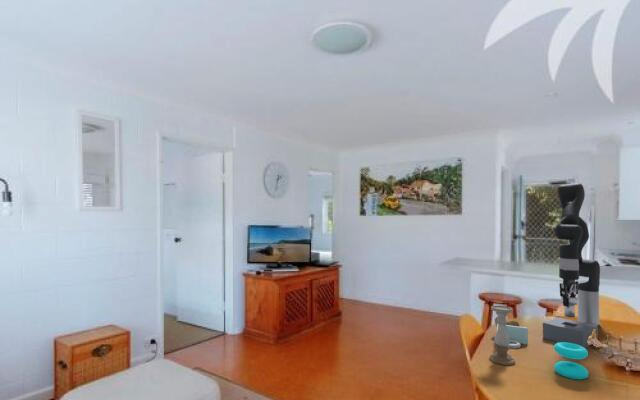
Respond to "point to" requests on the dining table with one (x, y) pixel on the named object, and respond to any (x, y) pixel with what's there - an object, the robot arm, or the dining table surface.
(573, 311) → the steel pin
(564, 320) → the socket block
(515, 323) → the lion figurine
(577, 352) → the donuts
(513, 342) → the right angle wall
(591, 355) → the dining table surface
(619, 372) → the dining table surface
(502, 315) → the candle holder
